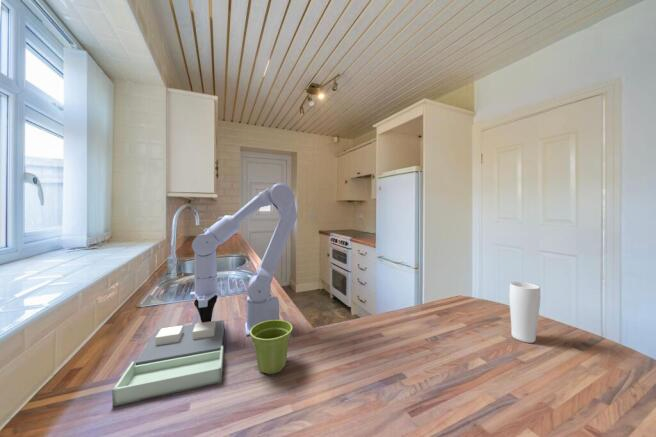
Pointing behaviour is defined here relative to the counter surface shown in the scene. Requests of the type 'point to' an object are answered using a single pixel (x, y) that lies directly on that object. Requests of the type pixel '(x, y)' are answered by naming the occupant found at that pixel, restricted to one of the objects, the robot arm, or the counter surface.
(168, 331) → the tile
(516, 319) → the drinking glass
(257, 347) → the plant pot
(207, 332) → the tile
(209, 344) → the board
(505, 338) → the counter surface
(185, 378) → the tray
